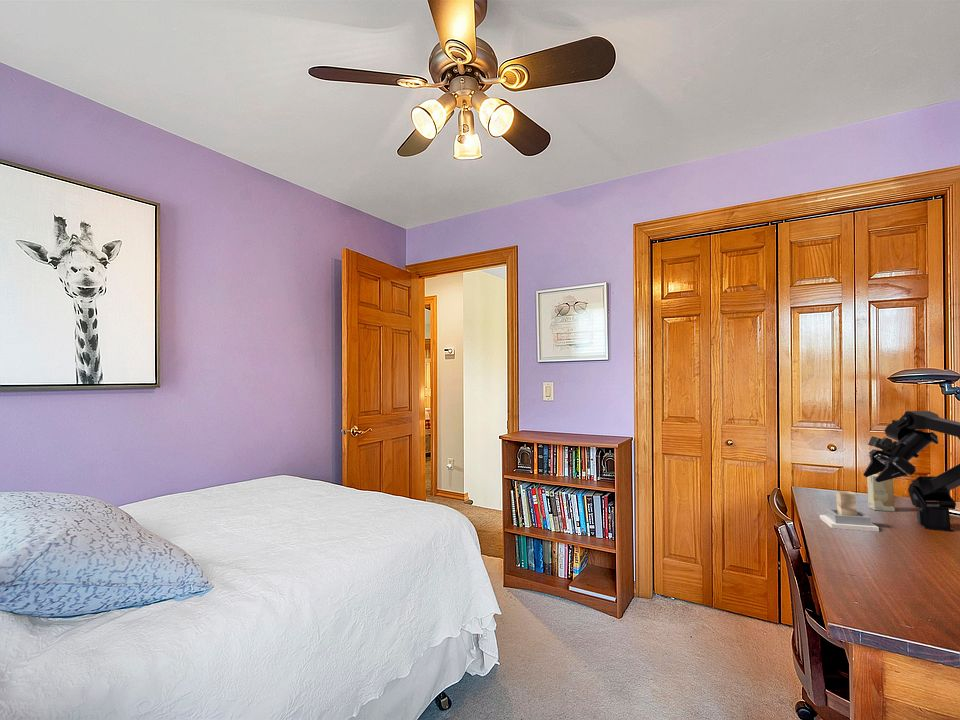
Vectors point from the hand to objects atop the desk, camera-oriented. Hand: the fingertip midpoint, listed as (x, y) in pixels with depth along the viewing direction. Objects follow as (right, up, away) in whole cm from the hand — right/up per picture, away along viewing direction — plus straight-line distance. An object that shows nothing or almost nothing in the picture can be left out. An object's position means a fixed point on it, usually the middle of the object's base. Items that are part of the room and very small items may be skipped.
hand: (870, 478), depth 153 cm
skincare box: (+14, -14, +11) cm, 23 cm away
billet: (-12, -12, -5) cm, 18 cm away
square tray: (-12, -14, -5) cm, 19 cm away
